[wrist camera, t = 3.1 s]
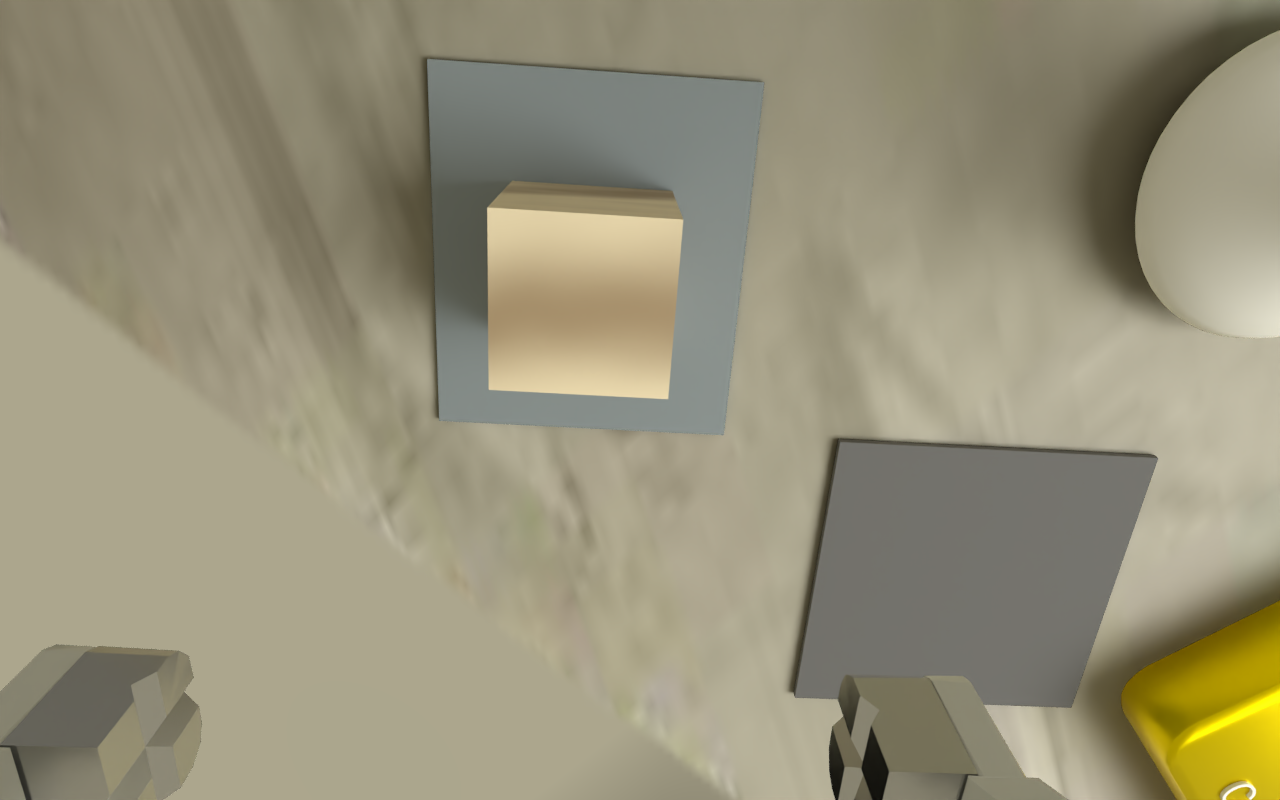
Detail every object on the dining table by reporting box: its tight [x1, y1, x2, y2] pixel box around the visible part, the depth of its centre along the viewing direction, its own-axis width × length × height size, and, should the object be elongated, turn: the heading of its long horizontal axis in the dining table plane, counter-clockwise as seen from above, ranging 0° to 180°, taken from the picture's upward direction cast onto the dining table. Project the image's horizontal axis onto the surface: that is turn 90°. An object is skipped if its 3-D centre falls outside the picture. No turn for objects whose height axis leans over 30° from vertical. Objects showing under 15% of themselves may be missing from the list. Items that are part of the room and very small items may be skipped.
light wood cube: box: [487, 181, 683, 399], centre depth 29 cm, size 6×6×6 cm
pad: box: [794, 439, 1158, 708], centre depth 38 cm, size 14×14×1 cm
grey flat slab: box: [427, 59, 764, 435], centre depth 32 cm, size 14×12×1 cm
